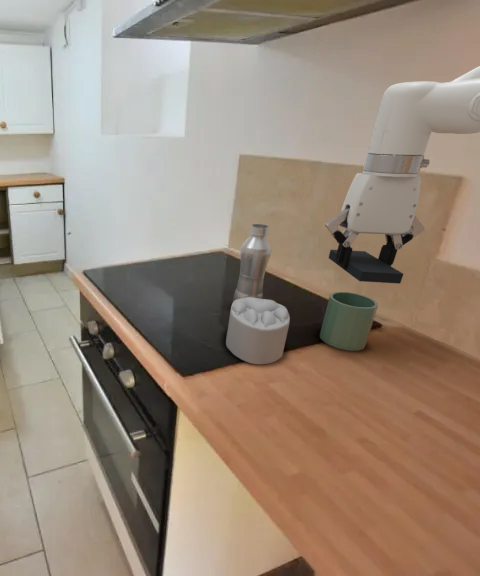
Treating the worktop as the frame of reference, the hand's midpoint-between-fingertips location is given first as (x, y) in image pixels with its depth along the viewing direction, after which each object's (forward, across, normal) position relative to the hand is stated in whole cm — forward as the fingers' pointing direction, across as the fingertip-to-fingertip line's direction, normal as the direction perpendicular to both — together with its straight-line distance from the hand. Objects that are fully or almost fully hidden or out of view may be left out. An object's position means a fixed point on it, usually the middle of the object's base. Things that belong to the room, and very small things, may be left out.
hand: (361, 266), depth 70 cm
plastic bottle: (+16, +16, -12) cm, 26 cm away
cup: (+16, 0, 0) cm, 16 cm away
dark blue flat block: (+1, 0, 0) cm, 1 cm away
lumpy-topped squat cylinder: (+16, +18, +5) cm, 24 cm away
